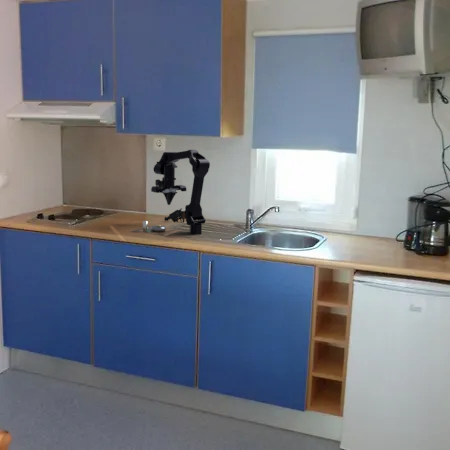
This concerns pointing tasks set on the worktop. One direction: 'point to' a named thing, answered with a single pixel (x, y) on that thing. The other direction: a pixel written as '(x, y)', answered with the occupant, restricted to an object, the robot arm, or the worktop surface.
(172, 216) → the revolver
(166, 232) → the board
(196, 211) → the robot arm
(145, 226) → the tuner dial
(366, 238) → the worktop surface
